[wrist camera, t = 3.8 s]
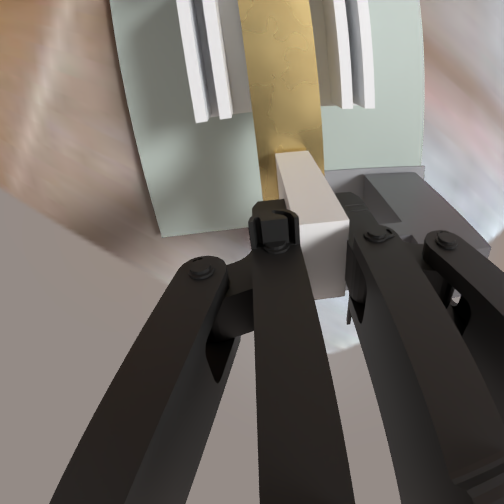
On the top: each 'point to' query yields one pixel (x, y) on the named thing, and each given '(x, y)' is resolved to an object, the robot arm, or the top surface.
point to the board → (228, 146)
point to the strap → (282, 83)
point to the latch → (415, 210)
